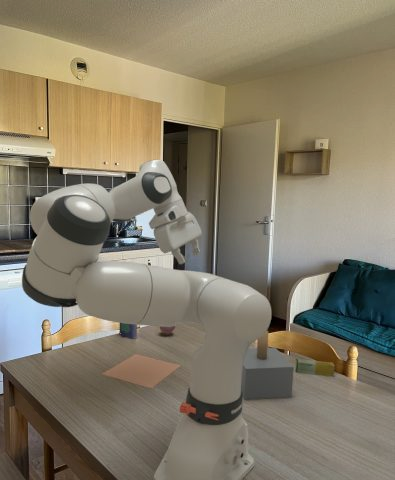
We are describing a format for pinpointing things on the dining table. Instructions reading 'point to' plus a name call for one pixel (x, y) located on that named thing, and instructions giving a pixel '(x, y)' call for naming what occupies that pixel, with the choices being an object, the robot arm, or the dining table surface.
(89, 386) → the dining table surface
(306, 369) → the medication box
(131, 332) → the flask
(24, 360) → the dining table surface
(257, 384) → the cover
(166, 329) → the vegetable
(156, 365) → the mat
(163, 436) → the dining table surface
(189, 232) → the robot arm
